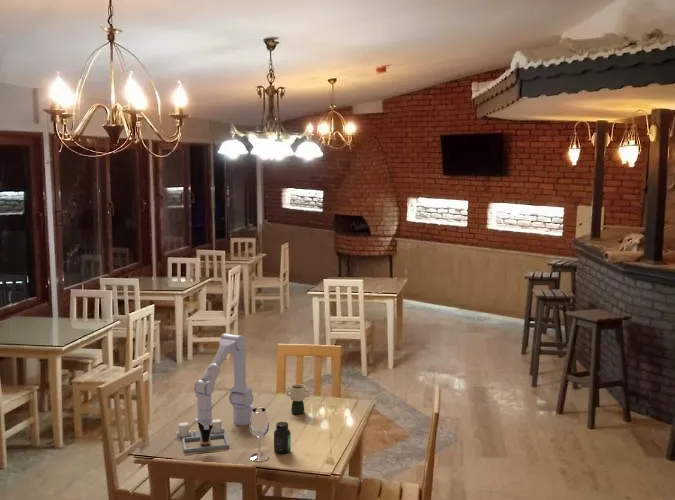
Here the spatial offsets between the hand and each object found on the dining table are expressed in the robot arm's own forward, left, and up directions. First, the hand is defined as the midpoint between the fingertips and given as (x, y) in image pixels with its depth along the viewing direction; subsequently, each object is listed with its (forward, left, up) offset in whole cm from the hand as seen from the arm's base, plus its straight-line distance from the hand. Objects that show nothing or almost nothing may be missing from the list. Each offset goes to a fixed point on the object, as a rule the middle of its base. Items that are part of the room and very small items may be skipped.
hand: (205, 439), depth 280 cm
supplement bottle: (-30, +13, -3) cm, 33 cm away
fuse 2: (-6, -12, -2) cm, 14 cm away
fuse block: (+1, -12, -3) cm, 12 cm away
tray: (0, 0, -3) cm, 3 cm away
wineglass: (-20, +16, -3) cm, 26 cm away
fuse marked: (0, 0, -1) cm, 1 cm away
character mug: (-46, -28, -3) cm, 54 cm away
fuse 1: (+8, -12, -2) cm, 15 cm away
